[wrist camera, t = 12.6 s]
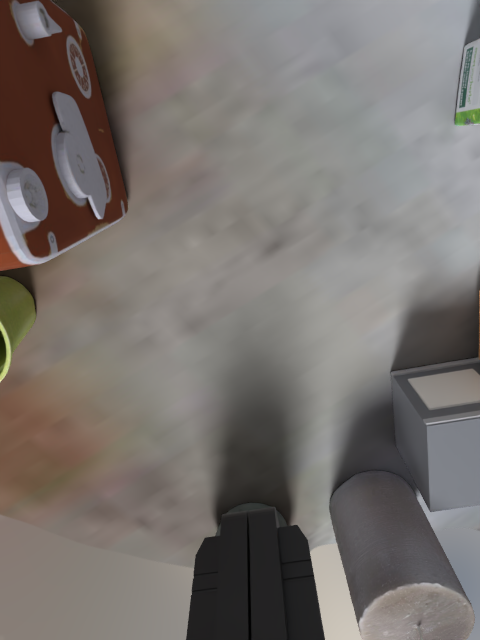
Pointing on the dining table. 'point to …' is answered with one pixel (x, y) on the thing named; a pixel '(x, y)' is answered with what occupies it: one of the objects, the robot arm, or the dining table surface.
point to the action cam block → (440, 430)
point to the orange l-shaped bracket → (479, 324)
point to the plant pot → (13, 319)
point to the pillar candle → (396, 563)
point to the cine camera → (51, 137)
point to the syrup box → (469, 87)
